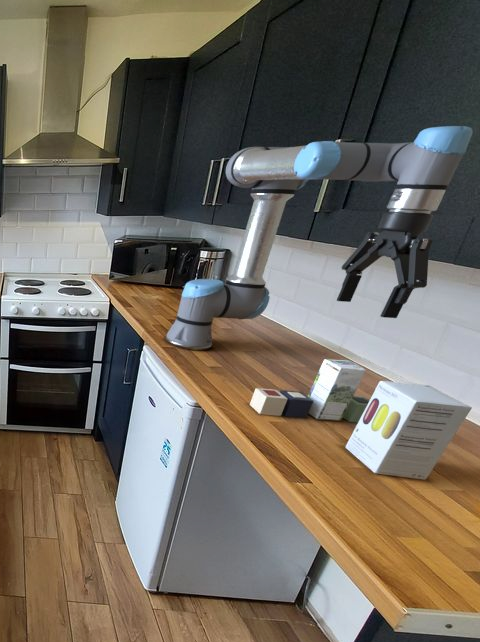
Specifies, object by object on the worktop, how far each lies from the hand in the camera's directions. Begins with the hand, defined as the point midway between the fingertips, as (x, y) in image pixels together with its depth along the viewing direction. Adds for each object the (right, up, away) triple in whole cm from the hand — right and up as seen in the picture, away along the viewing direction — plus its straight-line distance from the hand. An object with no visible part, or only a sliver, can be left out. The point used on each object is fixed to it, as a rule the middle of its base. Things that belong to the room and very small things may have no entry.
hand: (364, 308), depth 94 cm
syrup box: (-3, -26, +9) cm, 28 cm away
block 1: (-16, -25, +10) cm, 31 cm away
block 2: (-10, -25, +9) cm, 29 cm away
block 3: (+5, -27, +8) cm, 28 cm away
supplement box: (-5, -34, -9) cm, 36 cm away
